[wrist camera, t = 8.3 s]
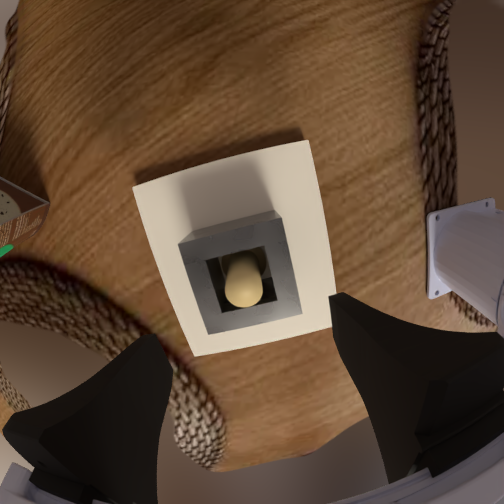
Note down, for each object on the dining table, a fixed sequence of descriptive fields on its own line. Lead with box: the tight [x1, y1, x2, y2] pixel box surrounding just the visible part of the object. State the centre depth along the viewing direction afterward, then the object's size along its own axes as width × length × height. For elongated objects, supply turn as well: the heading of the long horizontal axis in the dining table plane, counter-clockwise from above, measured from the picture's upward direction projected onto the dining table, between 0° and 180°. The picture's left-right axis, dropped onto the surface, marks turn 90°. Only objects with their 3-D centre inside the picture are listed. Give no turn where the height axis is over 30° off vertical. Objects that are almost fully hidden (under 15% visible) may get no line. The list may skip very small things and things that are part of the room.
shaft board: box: [132, 140, 336, 356], centre depth 17 cm, size 12×14×6 cm
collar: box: [178, 210, 303, 335], centre depth 17 cm, size 6×6×4 cm
